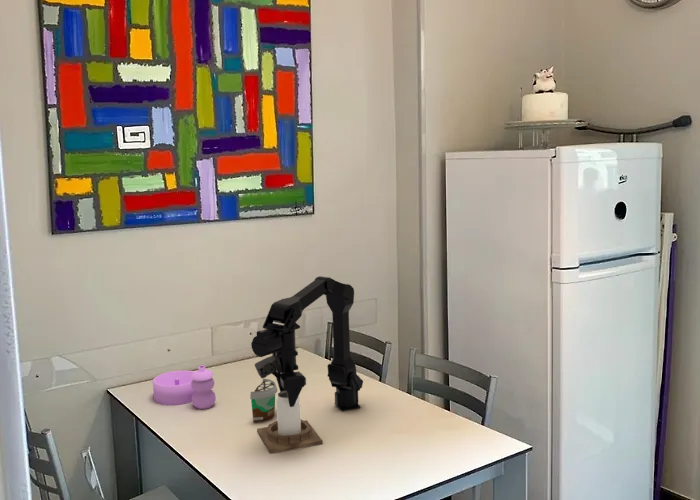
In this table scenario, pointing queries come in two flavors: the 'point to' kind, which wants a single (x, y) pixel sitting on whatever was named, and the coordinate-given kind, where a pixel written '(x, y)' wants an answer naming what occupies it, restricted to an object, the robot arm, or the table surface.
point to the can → (288, 415)
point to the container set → (185, 388)
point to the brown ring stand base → (288, 438)
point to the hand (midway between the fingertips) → (287, 400)
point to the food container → (264, 401)
